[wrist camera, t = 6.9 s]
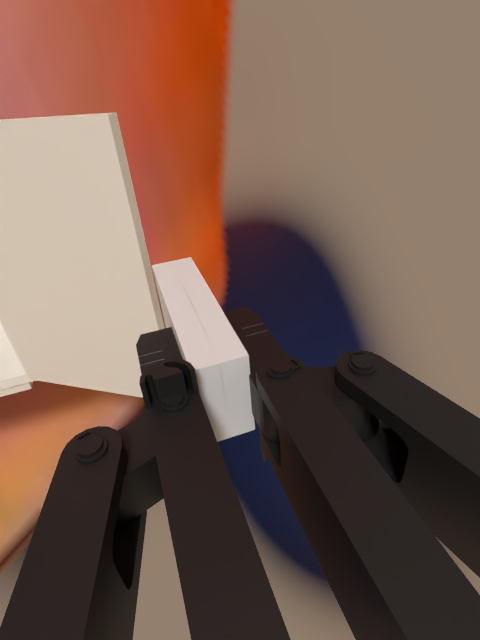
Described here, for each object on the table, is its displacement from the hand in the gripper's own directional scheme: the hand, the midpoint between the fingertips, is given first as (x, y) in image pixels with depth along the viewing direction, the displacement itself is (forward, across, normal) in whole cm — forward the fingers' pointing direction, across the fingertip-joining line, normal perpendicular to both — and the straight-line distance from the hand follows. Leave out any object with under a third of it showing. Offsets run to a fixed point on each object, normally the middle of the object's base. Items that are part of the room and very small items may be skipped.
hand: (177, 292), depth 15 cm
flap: (+3, -5, 0) cm, 6 cm away
